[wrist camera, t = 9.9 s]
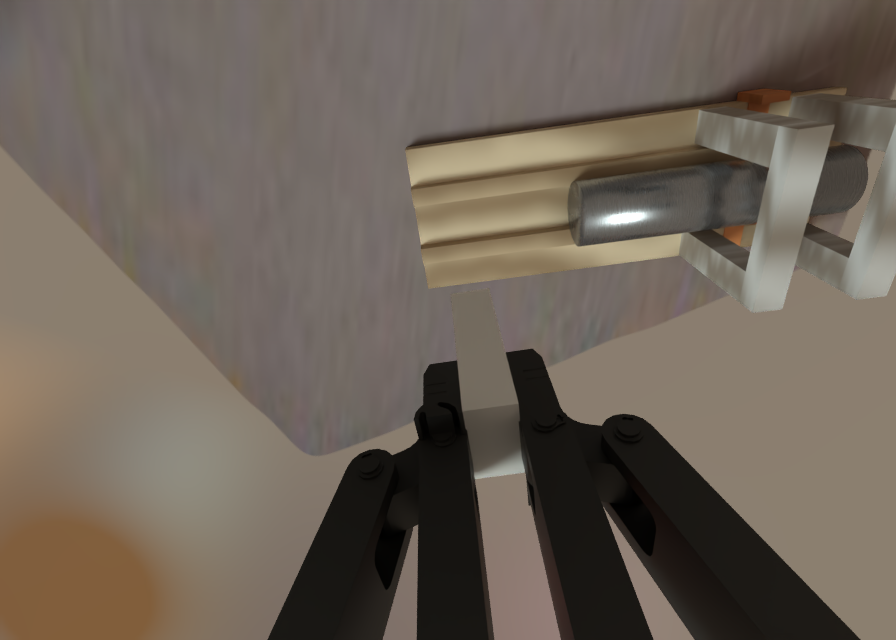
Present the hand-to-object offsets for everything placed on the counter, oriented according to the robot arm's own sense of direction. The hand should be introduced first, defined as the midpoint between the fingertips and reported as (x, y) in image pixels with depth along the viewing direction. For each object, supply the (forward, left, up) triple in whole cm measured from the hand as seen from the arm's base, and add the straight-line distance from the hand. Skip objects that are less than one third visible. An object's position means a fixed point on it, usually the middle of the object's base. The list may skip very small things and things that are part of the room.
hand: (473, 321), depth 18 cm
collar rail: (+3, +14, -23) cm, 27 cm away
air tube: (+3, +19, -21) cm, 29 cm away
